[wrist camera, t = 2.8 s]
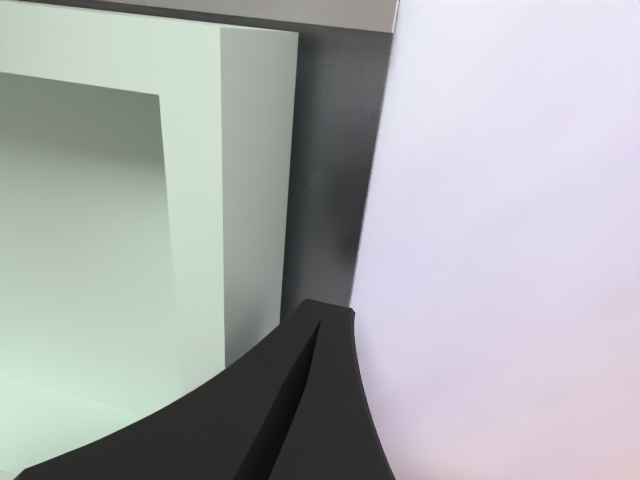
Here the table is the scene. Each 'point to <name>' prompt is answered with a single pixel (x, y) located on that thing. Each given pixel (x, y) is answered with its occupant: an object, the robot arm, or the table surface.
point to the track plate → (313, 123)
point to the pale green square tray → (132, 214)
